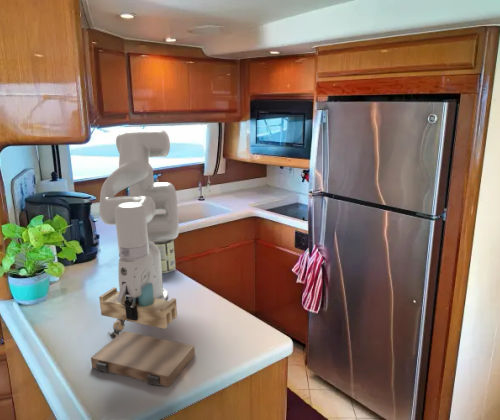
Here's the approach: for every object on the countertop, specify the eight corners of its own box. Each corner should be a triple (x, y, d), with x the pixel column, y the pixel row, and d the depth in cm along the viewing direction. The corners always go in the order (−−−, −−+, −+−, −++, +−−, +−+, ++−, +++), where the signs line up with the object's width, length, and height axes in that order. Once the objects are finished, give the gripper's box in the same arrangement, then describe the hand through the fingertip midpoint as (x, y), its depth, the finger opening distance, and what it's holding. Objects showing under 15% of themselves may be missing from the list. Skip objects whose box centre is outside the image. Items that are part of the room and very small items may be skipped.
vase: (121, 326, 131) (120, 310, 130) (132, 332, 128) (132, 316, 127) (107, 333, 127) (106, 316, 125) (118, 340, 124) (117, 323, 122)
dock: (89, 369, 110) (88, 359, 109) (124, 339, 124) (123, 330, 123) (166, 389, 102) (165, 379, 101) (194, 355, 116) (194, 345, 115)
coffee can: (153, 264, 181) (151, 234, 177) (177, 263, 181) (175, 233, 177) (149, 273, 171) (146, 242, 167) (173, 273, 171) (171, 241, 168)
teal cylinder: (135, 304, 107) (133, 287, 106) (144, 298, 110) (142, 281, 109) (148, 307, 106) (146, 289, 104) (156, 300, 109) (155, 283, 108)
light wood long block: (101, 315, 111) (99, 296, 109) (115, 305, 116) (113, 287, 115) (165, 328, 104) (163, 309, 102) (177, 317, 109) (176, 298, 108)
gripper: (125, 264, 96) (132, 332, 101) (164, 241, 111) (169, 300, 116) (99, 260, 98) (107, 327, 103) (141, 238, 114) (146, 296, 119)
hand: (139, 312), depth 110 cm, fingers closed on light wood long block, 6 cm apart
